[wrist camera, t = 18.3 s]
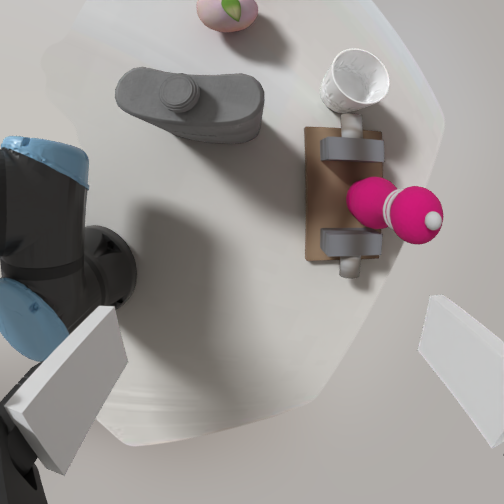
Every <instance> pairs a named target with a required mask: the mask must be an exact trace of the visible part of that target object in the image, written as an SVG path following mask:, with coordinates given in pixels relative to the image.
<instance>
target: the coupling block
mask: <svg viewBox="0 0 504 504" xmlns="http://www.w3.org/2000/svg"><path fill="white" fill-rule="evenodd" d="M304 136H305V179H306V238H305V259H306V260H307V261H314V260H340V274H339V275H340V276H341V277H344V278H351V279H352V278H358V277H359V273H360V261H361V259H374V258H379V255H381V249H382V235H383V234H381V229H373V228H369V227H366V226H364V225H363V224H361V223H360V222H359V221H358V220H357V219H356V217H354V216H353V215H352V214H351V213H350V211H349V209H348V207H347V203H346V196H347V192H348V190H349V188H350V187H351V185H352V184H353V183H355V182H356V181H358V180H362V179H366V178H369V177H381V178H383V164H382V162H384V141H383V140H382V132H378V131H368V130H362V115H359V114H342V115H341V128H326V127H305V128H304Z"/></svg>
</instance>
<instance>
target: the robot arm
mask: <svg viewBox="0 0 504 504" xmlns="http://www.w3.org/2000/svg"><path fill="white" fill-rule="evenodd" d="M88 170H89V159H88V156H87V154H86V153H85V152H84V151H83V150H81V149H80V148H77V147H75V146H71V145H67V144H64V143H60V142H55V141H50V140H44V139H38V138H27V137H21V136H9V137H6V138H5V139H4V140H3V143H2V144H1V150H0V262H1V272H2V278H0V332H1V334H2V335H3V336H4V338H5V339H6V340H7V341H8V342H9V343H10V344H11V346H12V347H13V348H15V349H16V350H17V351H18V352H19V353H21V354H22V355H24V356H26V357H27V358H29V359H32V360H34V361H38V362H40V363H39V364H37V365H35V366H34V367H32V368H31V369H30V370H29V371H28V372H27V373H26V374H25V375H24V378H22V379H21V380H20V381H19V382H18V384H16V385H15V386H14V388H13V389H12V390H11V391H10V392H9V393H8V394H7V395H6V397H4V398H3V400H2V401H1V402H0V504H48V503H47V500H46V497H45V493H44V490H43V486H42V483H41V479H40V475H39V471H38V469H37V467H36V465H35V464H34V462H35V461H36V459H37V458H39V459H40V461H41V462H42V463H43V465H44V466H45V467H46V468H47V469H49V470H51V471H54V472H56V473H59V474H62V475H65V474H66V472H67V470H68V468H69V466H70V464H71V463H72V461H73V459H74V457H75V455H76V453H77V451H78V449H79V447H80V446H81V444H82V442H83V440H84V438H85V436H86V434H87V433H88V431H89V429H90V427H91V425H92V424H93V422H94V420H95V418H96V416H97V415H98V413H99V411H100V409H101V408H102V406H103V404H104V402H105V401H106V399H107V397H108V395H109V394H110V392H111V390H112V388H113V387H114V385H115V383H116V382H117V380H118V378H119V376H120V375H121V373H122V371H123V370H124V368H125V366H126V365H127V363H128V359H127V356H126V352H125V348H124V344H123V340H122V336H121V332H120V328H119V324H118V319H117V315H116V309H118V308H119V307H121V306H122V305H123V304H124V303H125V302H126V301H127V300H128V298H129V297H130V296H131V294H132V292H133V290H134V288H135V284H136V275H137V274H136V265H135V261H134V258H133V255H132V253H131V251H130V249H129V247H128V246H127V244H126V243H125V242H124V240H123V239H122V238H121V237H120V236H119V235H117V234H116V233H115V232H113V231H112V230H110V229H108V228H105V227H102V226H96V225H93V226H87V227H85V215H86V200H87V191H88V190H89V185H88ZM418 351H419V353H420V354H421V355H422V356H423V358H424V359H425V360H426V361H427V363H428V364H429V365H430V366H431V368H432V369H433V370H434V371H435V373H436V374H437V375H438V376H439V378H440V379H441V380H442V381H443V383H444V384H445V385H446V386H447V388H448V389H449V391H450V392H451V393H452V394H453V396H454V397H455V398H456V400H457V401H458V402H459V404H460V405H461V406H462V408H463V409H464V410H465V412H466V413H467V414H468V416H469V417H470V419H471V420H472V421H473V423H474V424H475V425H476V427H477V428H478V430H479V431H480V432H481V434H482V435H483V437H484V438H485V440H486V441H487V442H488V444H489V445H490V447H491V448H494V447H495V446H497V445H499V444H501V443H503V442H504V342H503V341H502V340H501V339H499V338H498V337H497V336H496V335H494V334H493V333H492V332H491V331H489V330H488V329H487V328H486V327H485V326H483V325H482V324H481V323H480V322H478V321H477V320H476V319H475V318H473V317H472V316H471V315H469V314H468V313H467V312H465V311H464V310H463V309H462V308H460V307H459V306H458V305H456V304H455V303H454V302H452V301H451V300H450V299H448V298H447V297H446V296H444V295H436V296H430V298H429V303H428V309H427V313H426V318H425V322H424V326H423V331H422V335H421V339H420V343H419V347H418Z"/></svg>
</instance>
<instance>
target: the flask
mask: <svg viewBox="0 0 504 504" xmlns="http://www.w3.org/2000/svg"><path fill="white" fill-rule="evenodd" d="M115 99H116V102H117V105H118V106H119V107H120V108H121V109H122V110H123V111H125V112H127V113H128V114H130V115H132V116H135V117H137V118H139V119H141V120H144V121H146V122H148V123H150V124H153V125H155V126H157V127H159V128H161V129H164V130H166V131H168V132H170V133H172V134H174V135H177V136H180V137H183V138H187V139H191V140H196V141H201V142H209V143H222V144H233V143H243V142H247V141H249V140H252V139H253V138H254V137H255V136H256V135H257V134H258V132H259V130H260V125H261V119H262V113H263V107H264V90H263V88H262V86H261V84H260V83H259V82H258V81H257V80H256V79H255V78H254V77H252V76H249V75H246V74H224V75H187V74H183V73H179V74H177V73H170V72H163V71H159V70H155V69H151V68H146V67H139V68H133V69H132V70H130V71H128V72H127V73H125V74H124V76H123V77H122V78H121V79H120V80H119V82H118V84H117V87H116V89H115Z"/></svg>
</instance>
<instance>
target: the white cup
mask: <svg viewBox="0 0 504 504" xmlns="http://www.w3.org/2000/svg"><path fill="white" fill-rule="evenodd" d="M389 87H390V78H389V74H388V72H387V69H386V68H385V66H384V64H383V63H382V62H381V61H380V60H379V59H378V58H377V57H376V56H375V55H373V54H371V53H370V52H368V51H365V50H362V49H347V50H344V51H342V52H341V53H339V54H338V55H337V56H336V57H335V59H334V61H333V62H332V64H331V66H330V67H329V69H328V71H327V73H326V74H325V76H324V79H323V81H322V83H321V87H320V95H321V99H322V100H323V102H324V103H325V105H326V106H327V107H328V108H330V109H331V110H333V111H335V112H338V113H344V114H346V113H349V112H352V111H356V110H359V109H362V108H365V107H367V106H370V105H372V104H375V103H377V102H379V101H381V100H382V99H383V98H384V97H385V96H386V95H387V93H388V91H389Z"/></svg>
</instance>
